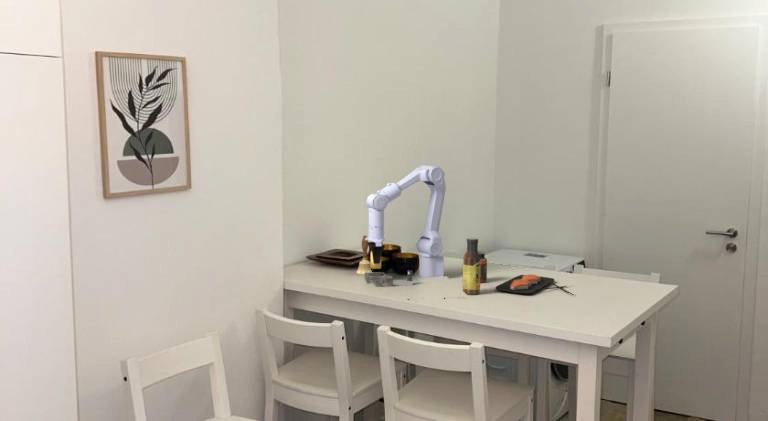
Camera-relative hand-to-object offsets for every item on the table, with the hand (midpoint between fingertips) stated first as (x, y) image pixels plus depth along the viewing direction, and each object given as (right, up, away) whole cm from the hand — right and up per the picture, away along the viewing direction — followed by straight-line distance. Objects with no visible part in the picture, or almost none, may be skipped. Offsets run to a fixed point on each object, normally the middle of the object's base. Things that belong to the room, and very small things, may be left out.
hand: (375, 262), depth 282 cm
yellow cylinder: (0, -2, 0) cm, 2 cm away
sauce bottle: (+34, -11, -12) cm, 38 cm away
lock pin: (+10, -8, -5) cm, 13 cm away
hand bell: (-4, -7, +16) cm, 18 cm away
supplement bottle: (+39, -8, +7) cm, 41 cm away
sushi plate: (+63, -11, -4) cm, 64 cm away
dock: (+5, -8, 0) cm, 10 cm away
